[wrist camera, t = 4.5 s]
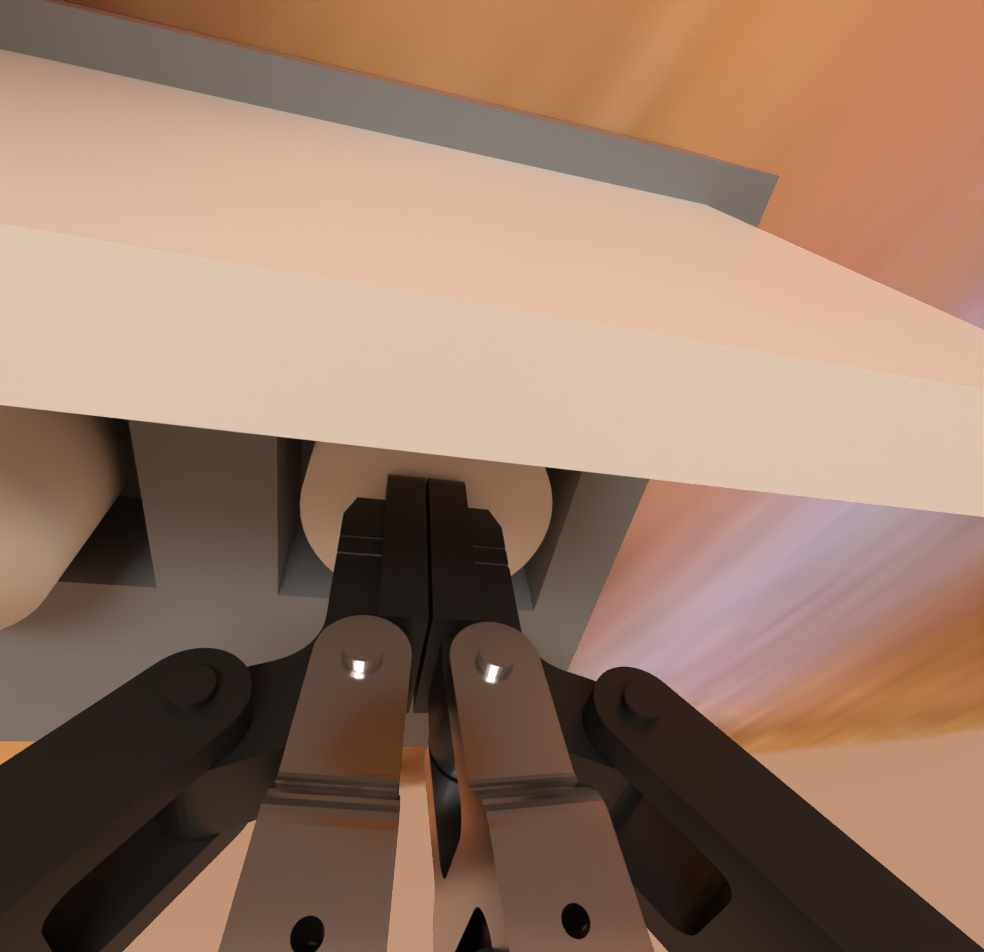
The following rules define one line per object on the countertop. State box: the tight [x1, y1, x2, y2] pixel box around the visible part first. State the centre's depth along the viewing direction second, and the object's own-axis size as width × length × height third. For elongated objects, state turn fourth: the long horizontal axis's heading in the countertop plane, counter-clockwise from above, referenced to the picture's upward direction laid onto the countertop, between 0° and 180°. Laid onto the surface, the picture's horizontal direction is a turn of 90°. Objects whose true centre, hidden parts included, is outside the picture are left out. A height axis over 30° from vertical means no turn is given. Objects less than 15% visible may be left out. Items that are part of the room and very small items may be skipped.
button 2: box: [300, 441, 552, 576], centre depth 13 cm, size 5×5×3 cm
